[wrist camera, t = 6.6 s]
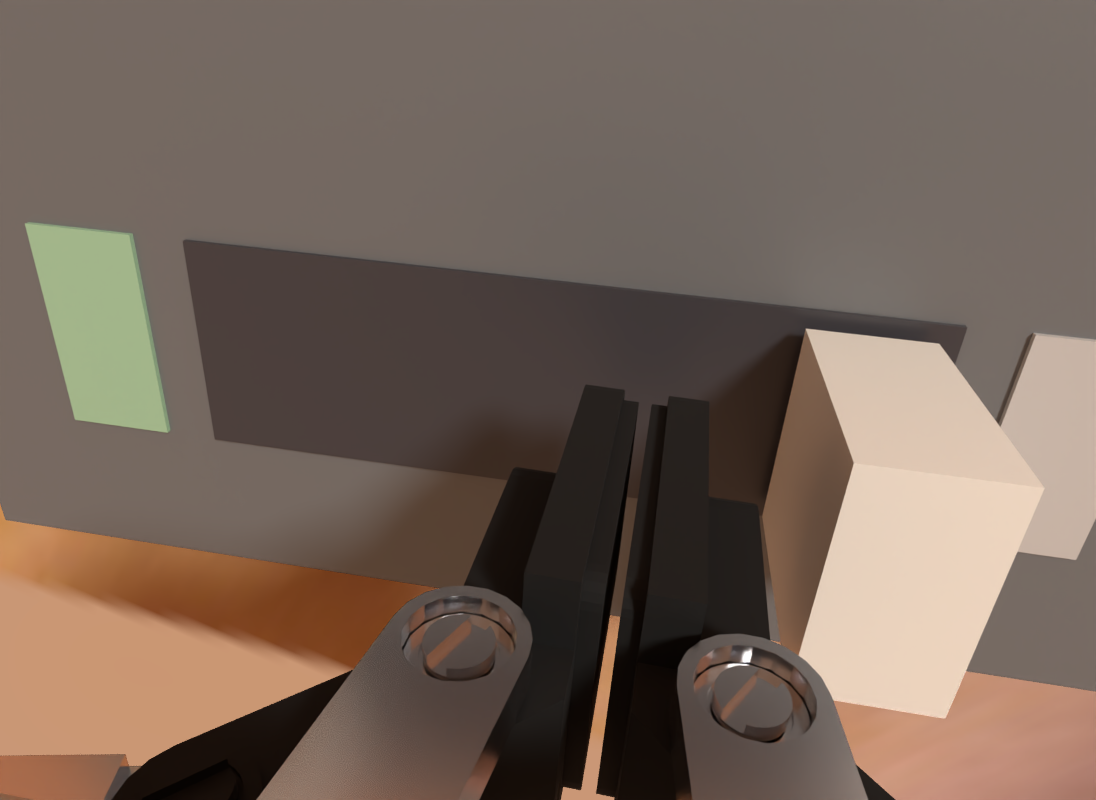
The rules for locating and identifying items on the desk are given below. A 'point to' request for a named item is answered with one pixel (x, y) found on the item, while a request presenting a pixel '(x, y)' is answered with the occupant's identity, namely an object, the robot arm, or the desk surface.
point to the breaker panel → (528, 259)
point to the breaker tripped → (890, 519)
